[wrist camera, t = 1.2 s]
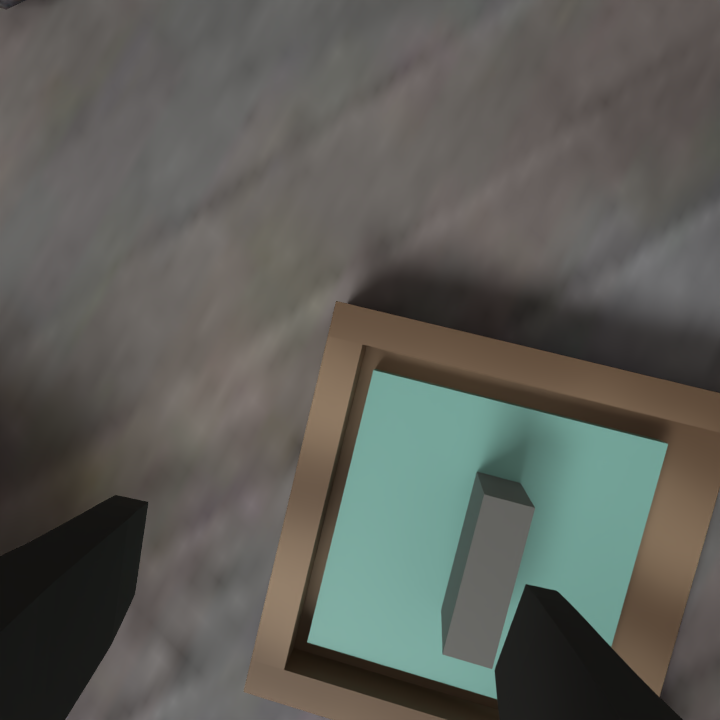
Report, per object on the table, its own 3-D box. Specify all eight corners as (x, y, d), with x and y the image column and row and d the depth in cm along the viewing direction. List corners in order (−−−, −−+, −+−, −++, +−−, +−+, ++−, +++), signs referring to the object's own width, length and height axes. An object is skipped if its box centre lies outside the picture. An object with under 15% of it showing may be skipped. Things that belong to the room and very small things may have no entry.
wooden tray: (625, 765, 23) (648, 818, 20) (262, 654, 24) (243, 691, 22) (730, 396, 22) (769, 405, 19) (346, 304, 23) (336, 300, 21)
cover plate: (583, 712, 22) (614, 791, 18) (311, 631, 23) (287, 690, 19) (659, 439, 21) (708, 462, 17) (375, 368, 22) (363, 376, 18)
